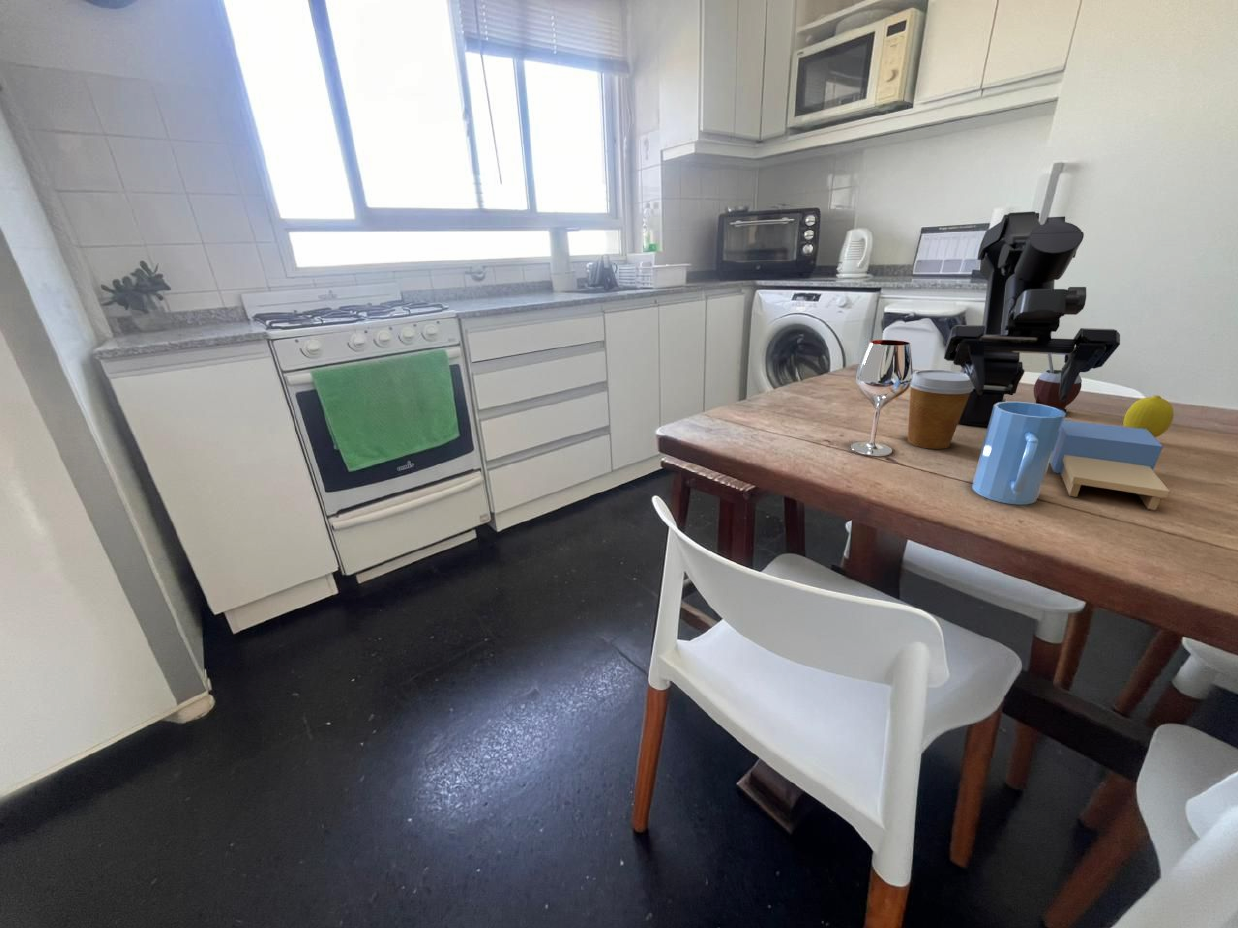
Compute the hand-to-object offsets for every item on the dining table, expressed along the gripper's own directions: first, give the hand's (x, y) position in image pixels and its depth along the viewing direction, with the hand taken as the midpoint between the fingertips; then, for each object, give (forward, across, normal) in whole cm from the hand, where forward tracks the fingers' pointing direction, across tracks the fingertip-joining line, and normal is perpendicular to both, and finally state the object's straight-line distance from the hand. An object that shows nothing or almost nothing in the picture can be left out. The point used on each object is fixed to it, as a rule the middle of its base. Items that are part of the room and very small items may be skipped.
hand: (1020, 396), depth 68 cm
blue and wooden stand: (+6, +12, +11) cm, 18 cm away
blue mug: (+14, 0, +3) cm, 14 cm away
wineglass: (+6, -17, +12) cm, 22 cm away
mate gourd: (-20, +13, +38) cm, 45 cm away
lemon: (-10, +23, +27) cm, 37 cm away
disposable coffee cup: (0, -8, +17) cm, 19 cm away
